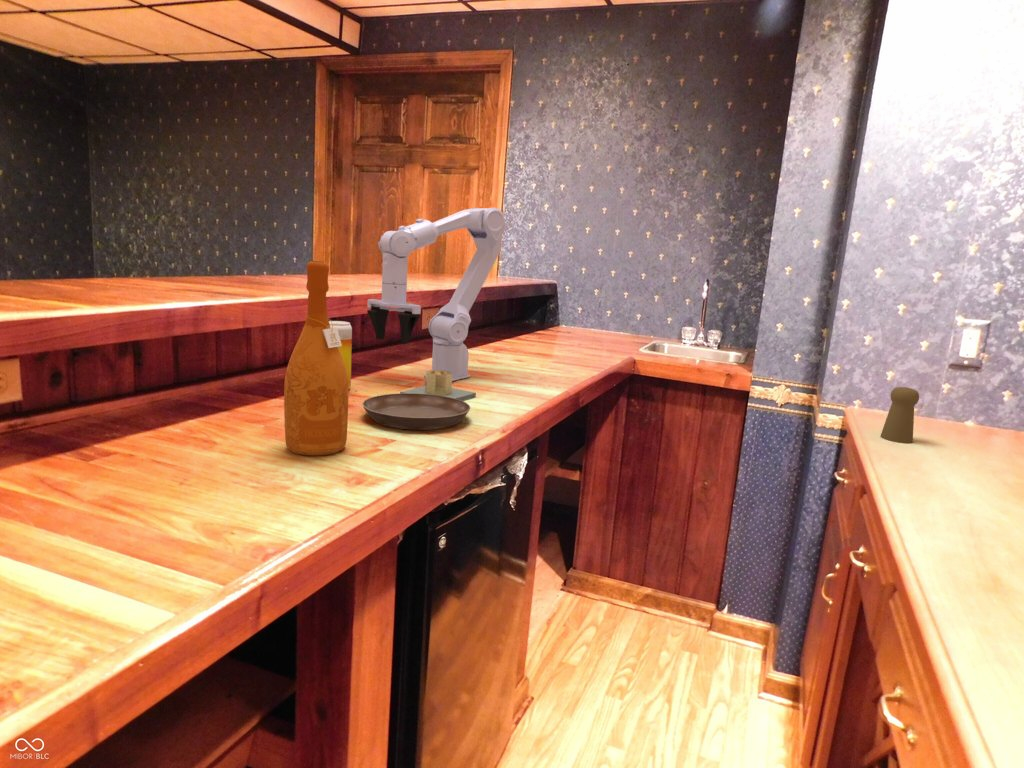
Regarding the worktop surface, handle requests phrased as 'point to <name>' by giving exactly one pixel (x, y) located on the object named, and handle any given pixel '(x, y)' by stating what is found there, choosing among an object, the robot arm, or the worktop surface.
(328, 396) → the wine bottle
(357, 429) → the worktop surface
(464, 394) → the post plate
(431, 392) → the collar
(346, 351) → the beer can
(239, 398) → the worktop surface
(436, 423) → the plant saucer
